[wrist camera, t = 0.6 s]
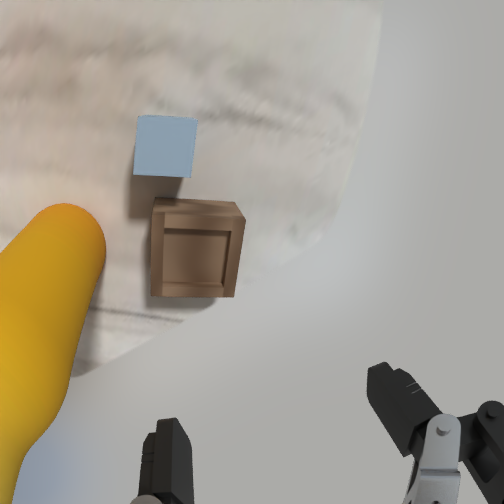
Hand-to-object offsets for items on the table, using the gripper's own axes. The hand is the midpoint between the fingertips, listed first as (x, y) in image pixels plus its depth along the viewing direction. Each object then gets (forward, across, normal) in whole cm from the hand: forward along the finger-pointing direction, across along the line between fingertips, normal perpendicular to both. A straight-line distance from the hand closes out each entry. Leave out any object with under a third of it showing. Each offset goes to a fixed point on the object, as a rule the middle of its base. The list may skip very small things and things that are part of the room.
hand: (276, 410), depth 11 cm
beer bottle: (+21, +17, -5) cm, 28 cm away
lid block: (+21, +4, -12) cm, 24 cm away
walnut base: (+23, +4, -2) cm, 23 cm away
